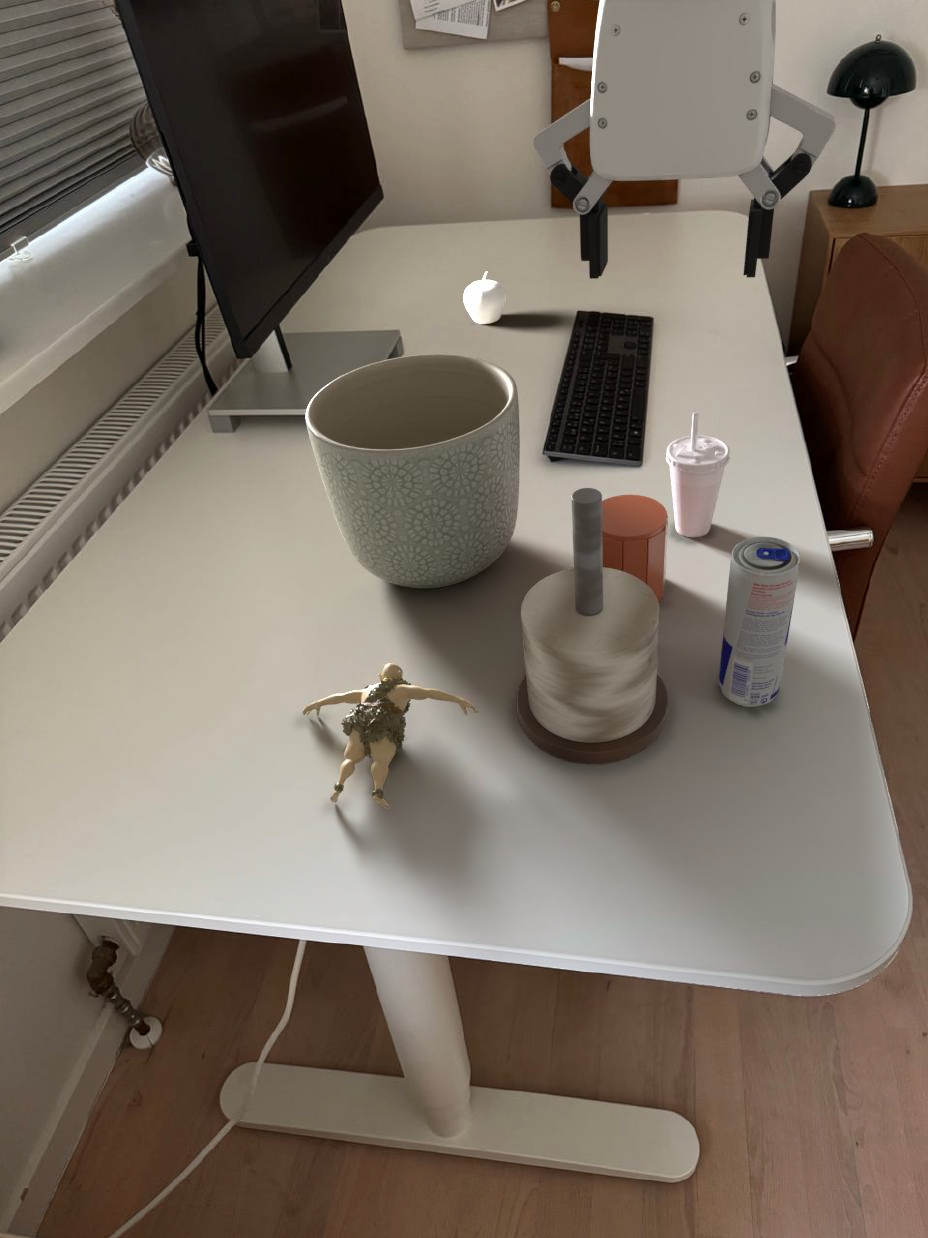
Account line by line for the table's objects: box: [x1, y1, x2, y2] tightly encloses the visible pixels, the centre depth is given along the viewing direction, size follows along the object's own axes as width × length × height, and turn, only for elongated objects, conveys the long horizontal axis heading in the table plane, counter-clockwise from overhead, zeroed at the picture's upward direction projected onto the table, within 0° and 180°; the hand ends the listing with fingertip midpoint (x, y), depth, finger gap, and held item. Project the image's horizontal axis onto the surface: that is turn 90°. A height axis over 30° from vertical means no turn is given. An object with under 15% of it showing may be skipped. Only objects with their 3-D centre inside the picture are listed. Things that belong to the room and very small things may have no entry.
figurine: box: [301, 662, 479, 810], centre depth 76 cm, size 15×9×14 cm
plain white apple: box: [463, 270, 507, 325], centre depth 147 cm, size 7×7×8 cm
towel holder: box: [516, 487, 669, 765], centre depth 72 cm, size 13×13×22 cm
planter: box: [305, 353, 521, 589], centre depth 93 cm, size 21×21×19 cm
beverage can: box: [718, 536, 801, 708], centre depth 73 cm, size 5×5×15 cm
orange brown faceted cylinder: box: [602, 494, 669, 602], centre depth 88 cm, size 7×8×9 cm
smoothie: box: [665, 410, 731, 538], centre depth 93 cm, size 6×6×14 cm
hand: (672, 270), depth 58 cm, fingers open, 9 cm apart
